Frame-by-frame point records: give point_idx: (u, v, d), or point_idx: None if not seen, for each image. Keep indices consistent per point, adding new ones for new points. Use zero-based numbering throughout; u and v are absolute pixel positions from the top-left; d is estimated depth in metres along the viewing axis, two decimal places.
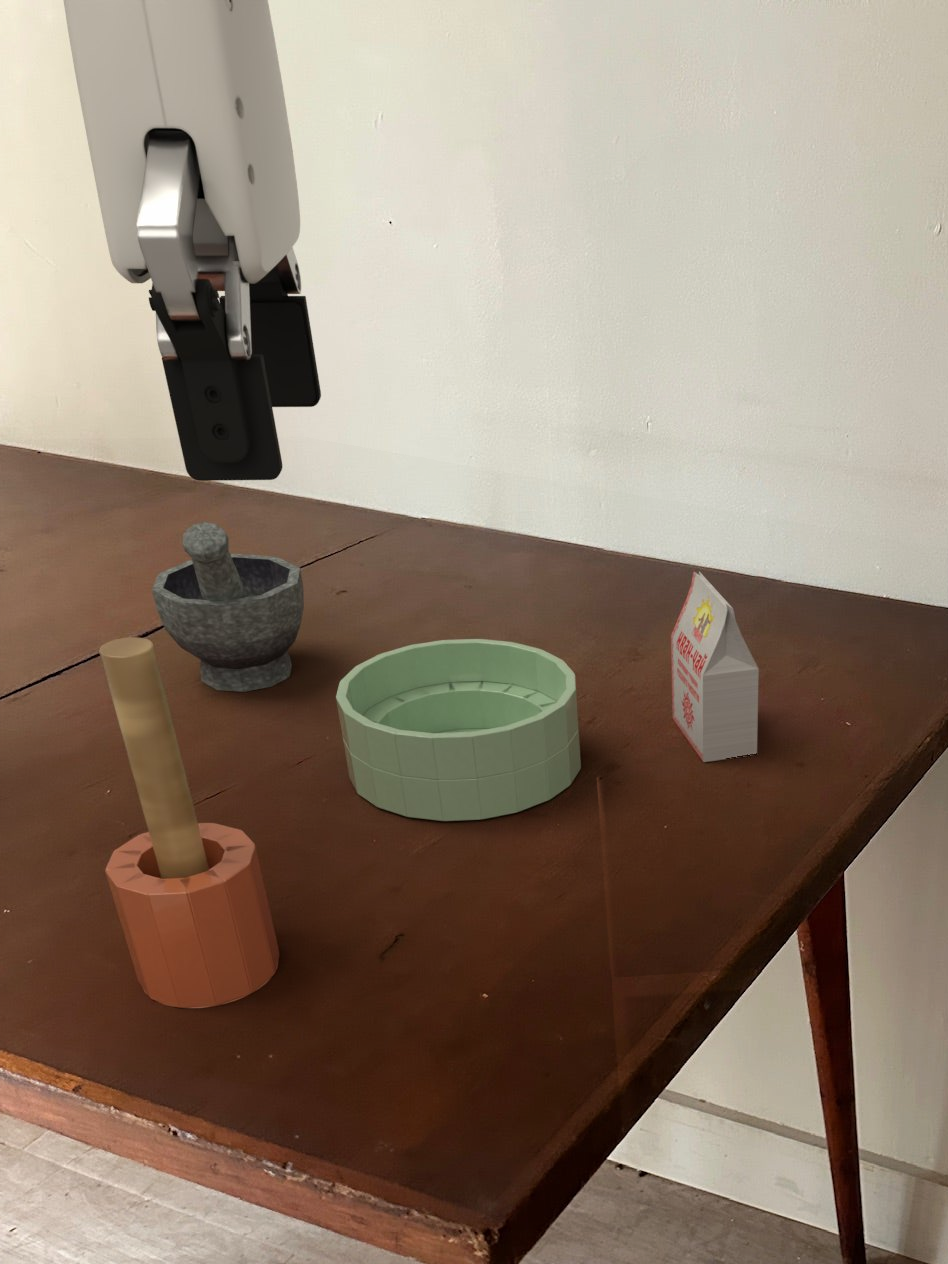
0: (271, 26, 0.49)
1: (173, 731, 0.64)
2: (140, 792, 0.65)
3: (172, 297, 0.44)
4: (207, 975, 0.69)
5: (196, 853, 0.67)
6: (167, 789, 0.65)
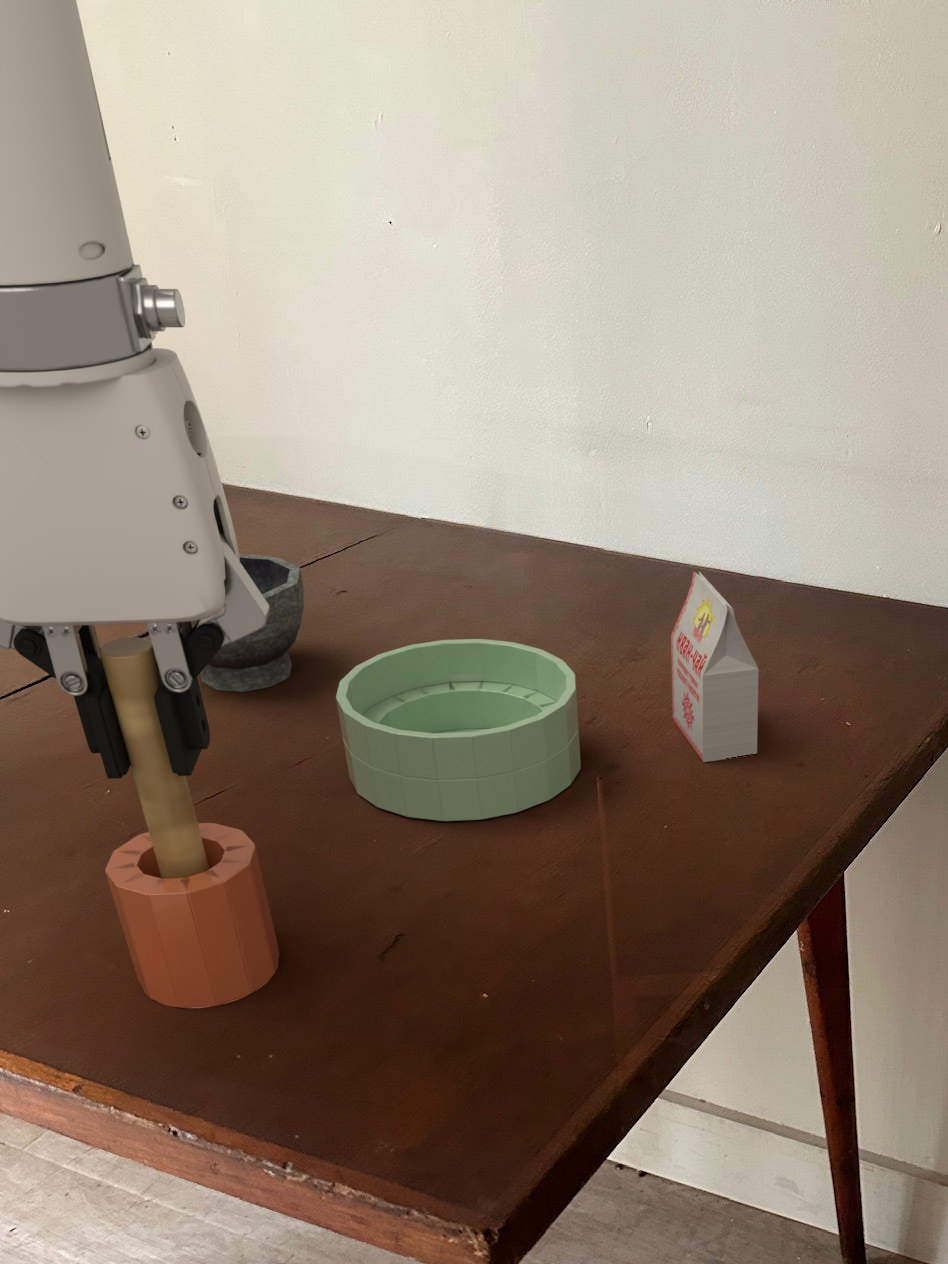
0: (117, 457, 0.55)
1: None
2: (140, 792, 0.65)
3: None
4: (207, 975, 0.69)
5: (196, 853, 0.67)
6: (167, 789, 0.65)
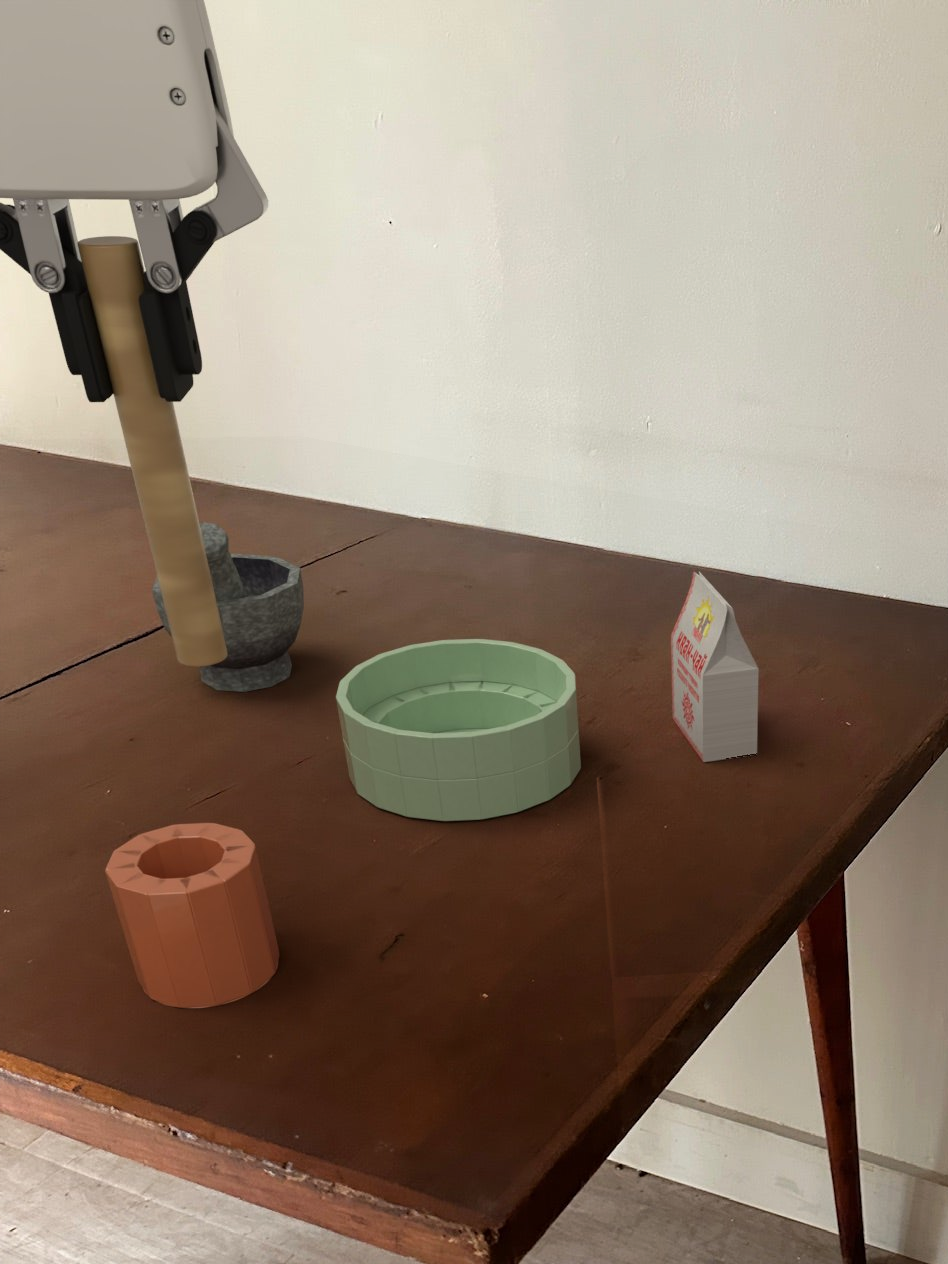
0: None
1: None
2: (124, 425, 0.59)
3: None
4: (207, 975, 0.69)
5: (186, 507, 0.61)
6: (154, 421, 0.59)
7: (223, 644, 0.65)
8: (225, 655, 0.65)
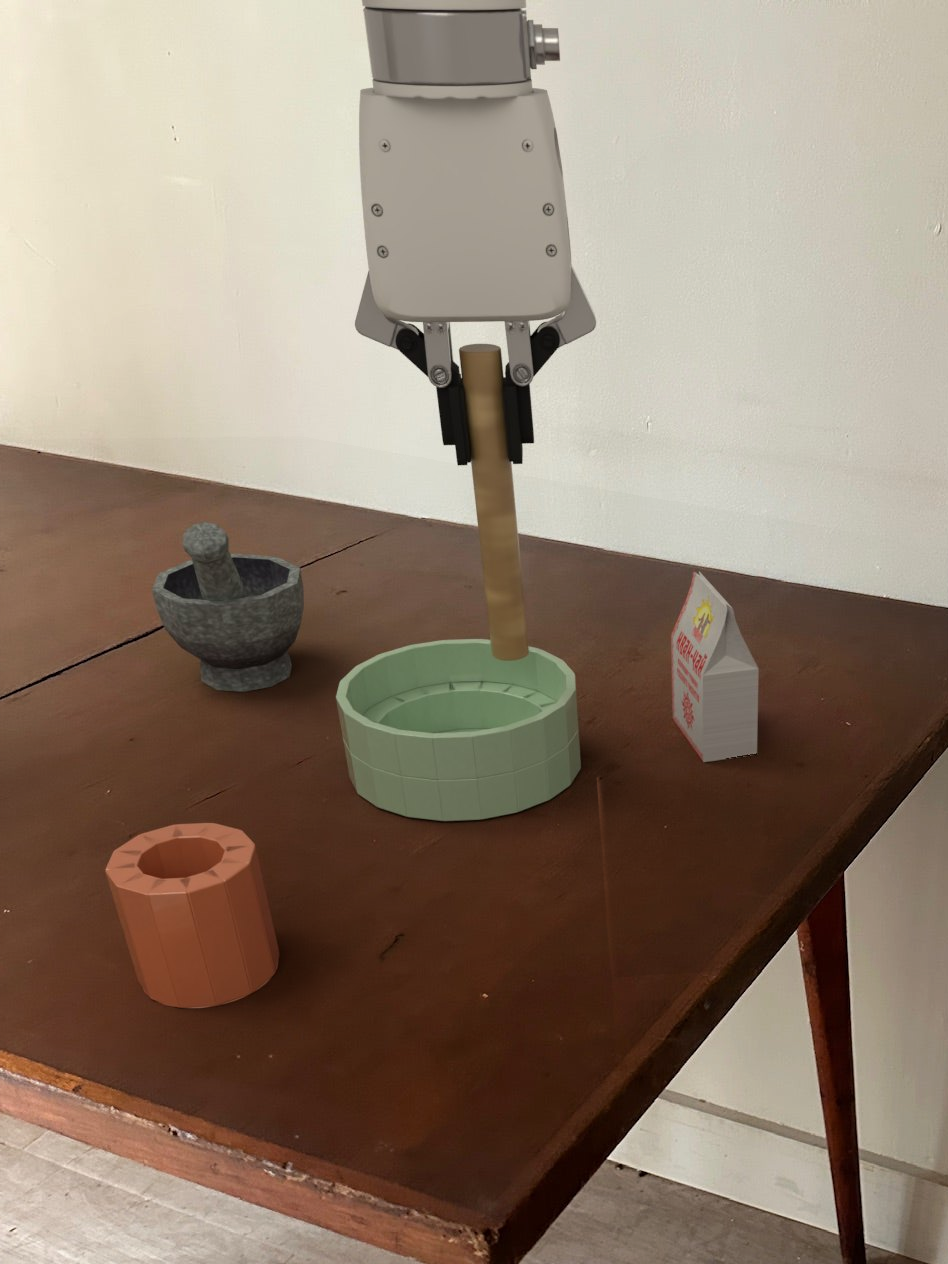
0: (506, 167, 0.69)
1: None
2: (477, 480, 0.79)
3: None
4: (207, 975, 0.69)
5: (514, 540, 0.81)
6: (500, 478, 0.79)
7: (527, 643, 0.85)
8: (528, 652, 0.86)
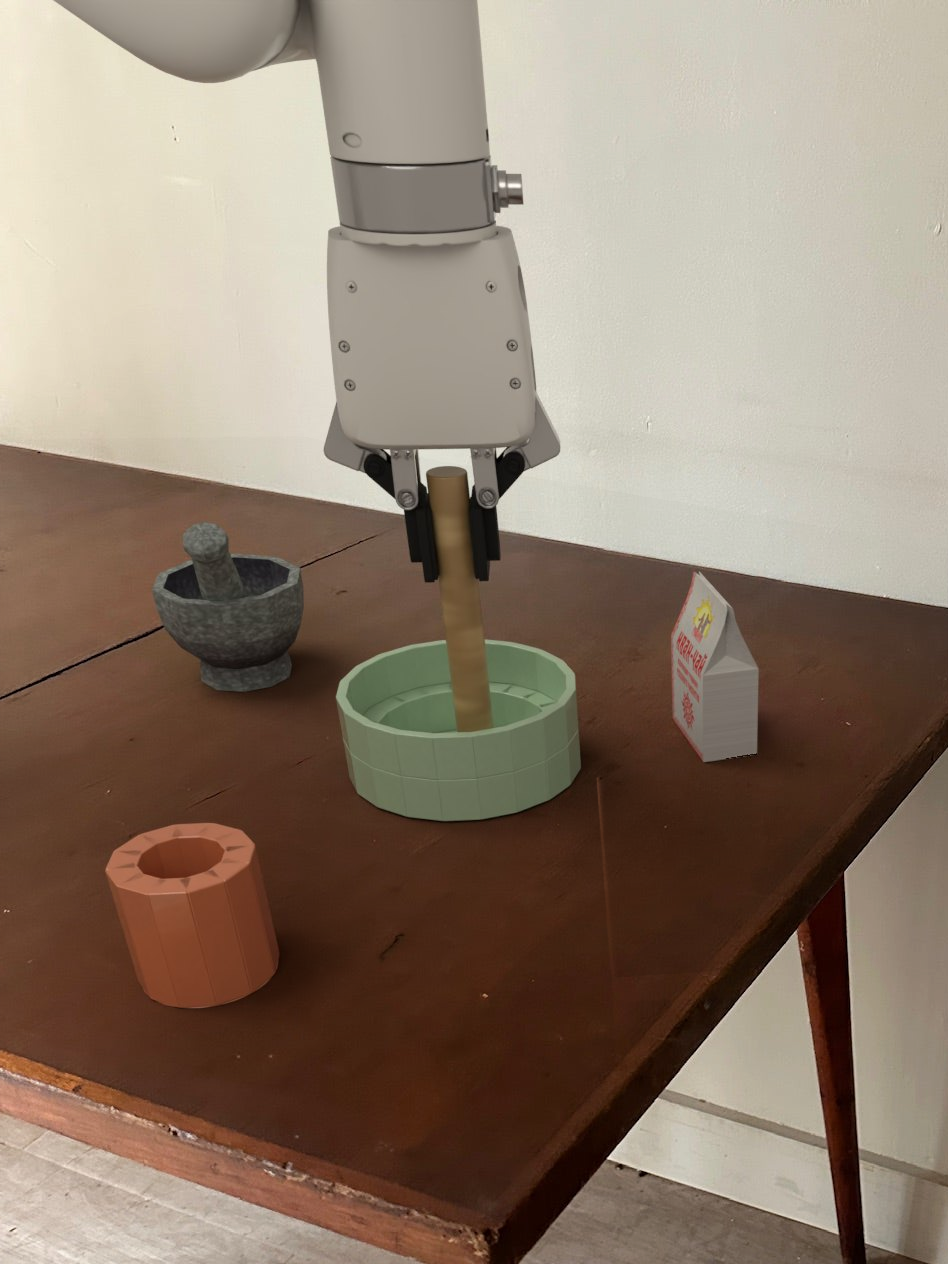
0: (470, 307, 0.70)
1: None
2: (445, 596, 0.81)
3: None
4: (207, 975, 0.69)
5: (481, 652, 0.83)
6: (467, 594, 0.80)
7: None
8: None
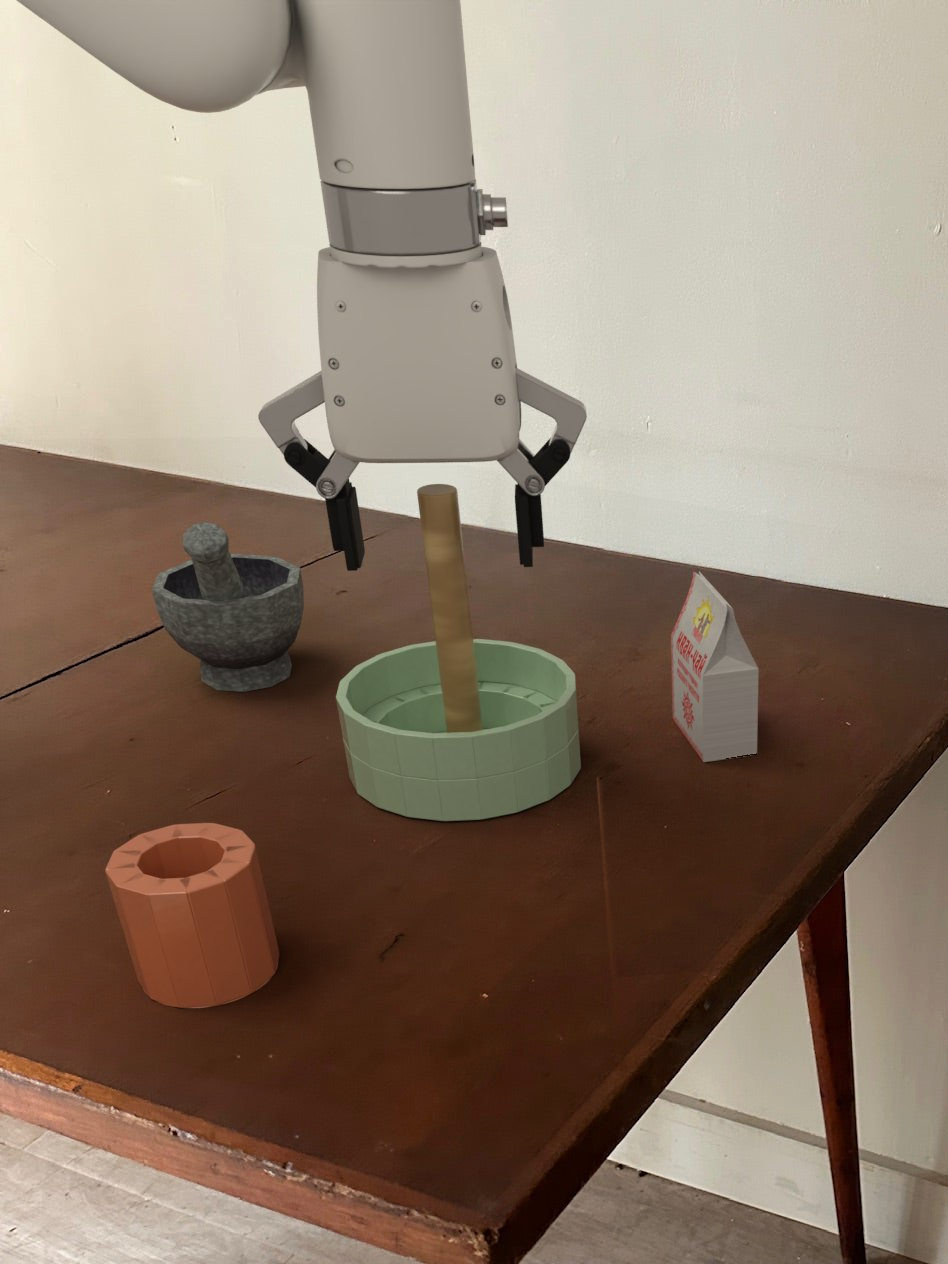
0: (456, 326, 0.73)
1: (464, 560, 0.82)
2: (435, 610, 0.83)
3: None
4: (207, 975, 0.69)
5: (471, 663, 0.85)
6: (457, 607, 0.83)
7: None
8: None
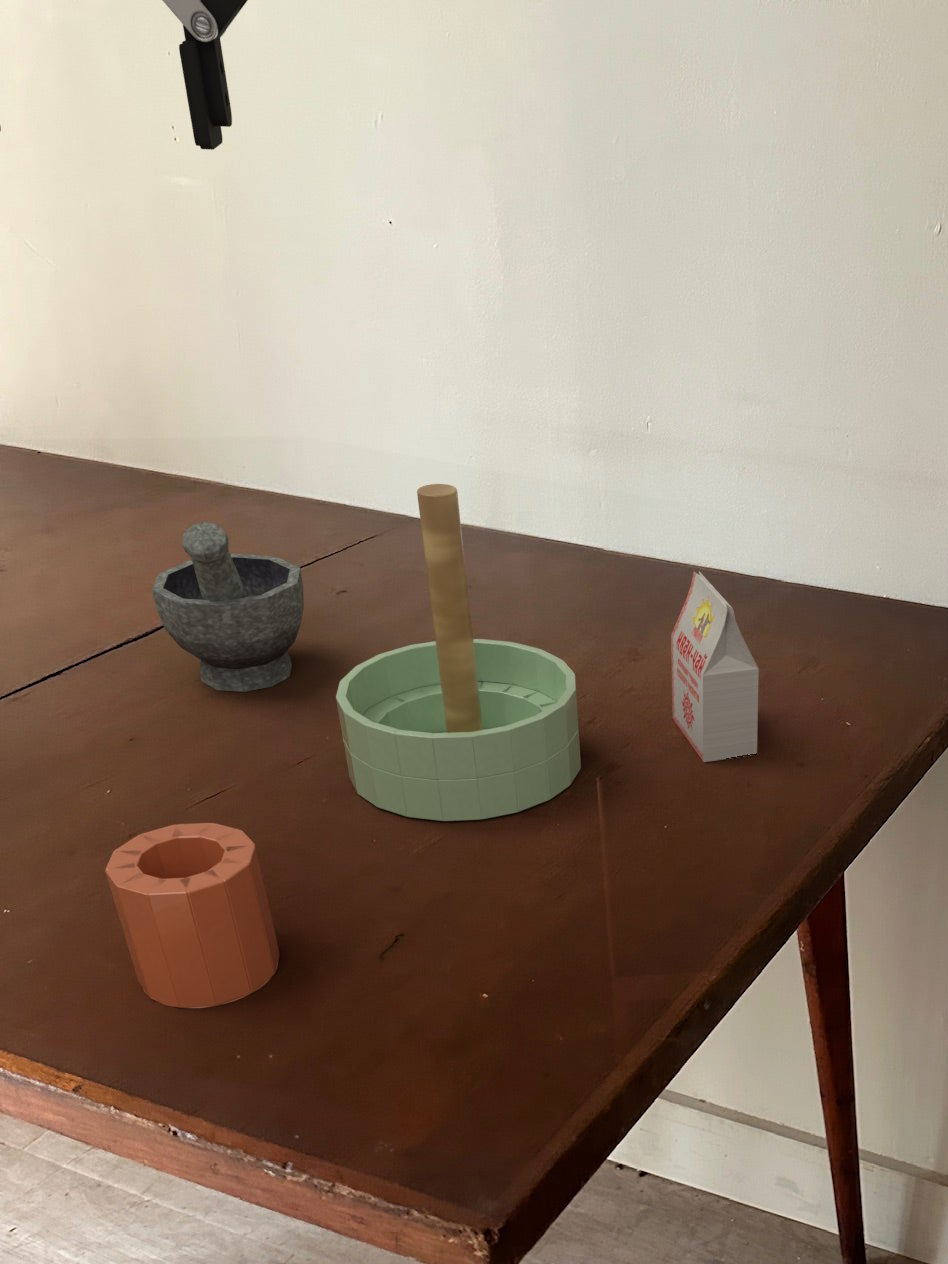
0: None
1: (464, 560, 0.82)
2: (435, 610, 0.83)
3: None
4: (207, 975, 0.69)
5: (471, 663, 0.85)
6: (457, 607, 0.83)
7: None
8: None
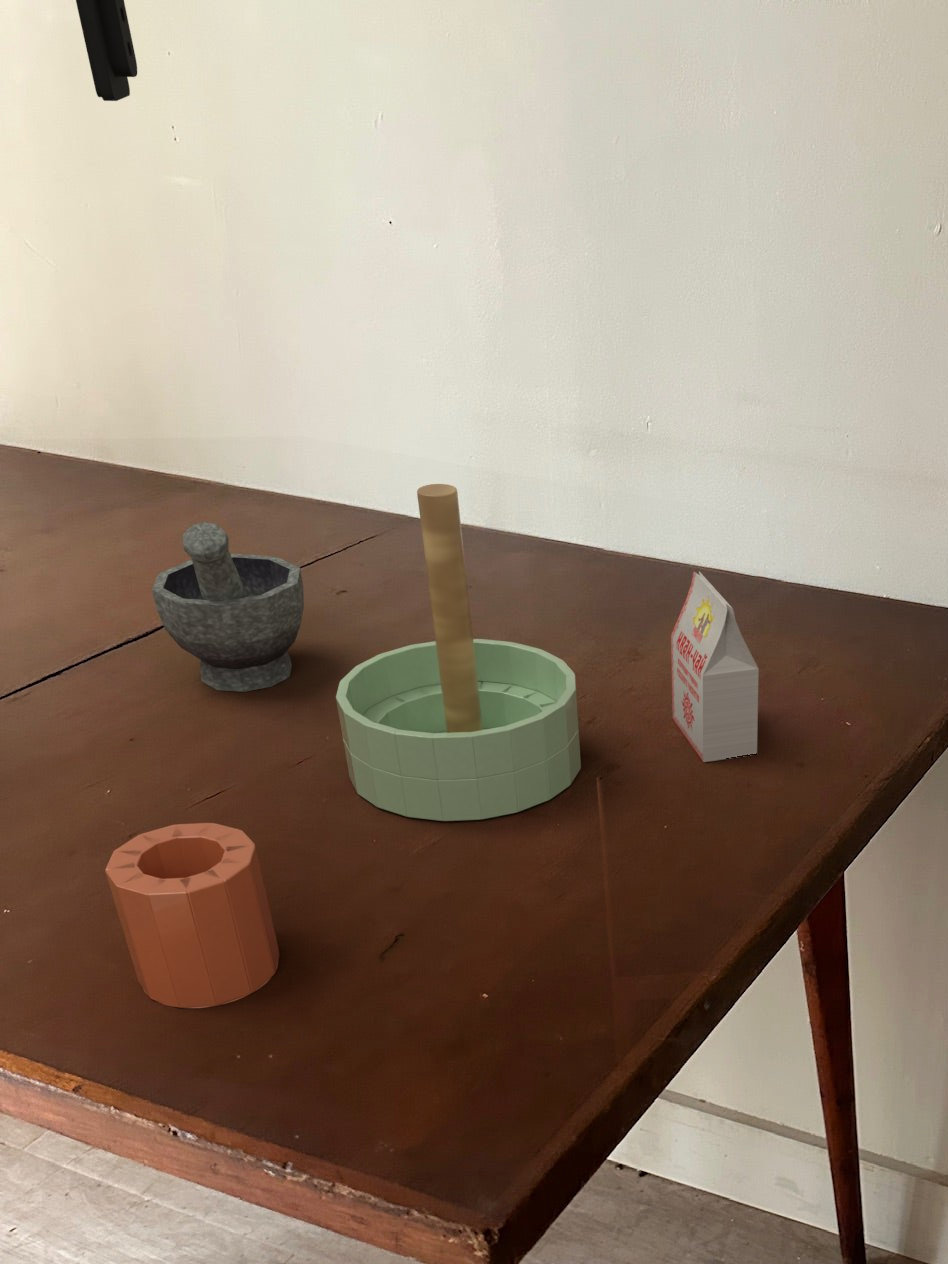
0: None
1: (464, 560, 0.82)
2: (435, 610, 0.83)
3: None
4: (207, 975, 0.69)
5: (471, 663, 0.85)
6: (457, 607, 0.83)
7: None
8: None
